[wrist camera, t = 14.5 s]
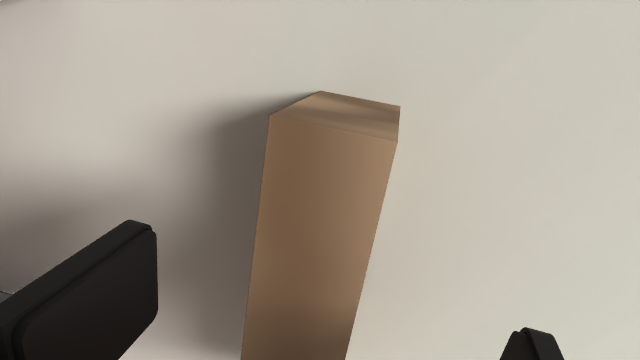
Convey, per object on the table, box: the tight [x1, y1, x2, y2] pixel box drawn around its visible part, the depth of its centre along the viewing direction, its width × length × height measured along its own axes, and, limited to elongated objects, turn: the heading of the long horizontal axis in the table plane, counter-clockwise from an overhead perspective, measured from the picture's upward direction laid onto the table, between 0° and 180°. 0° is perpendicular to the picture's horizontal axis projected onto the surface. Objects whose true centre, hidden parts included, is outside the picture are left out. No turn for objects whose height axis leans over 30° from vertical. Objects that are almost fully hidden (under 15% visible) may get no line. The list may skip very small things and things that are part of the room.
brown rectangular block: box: [241, 91, 400, 360], centre depth 14 cm, size 3×12×6 cm, turn 170°
